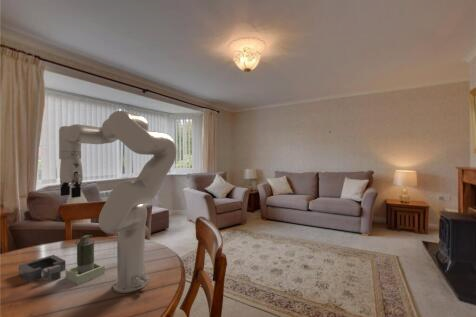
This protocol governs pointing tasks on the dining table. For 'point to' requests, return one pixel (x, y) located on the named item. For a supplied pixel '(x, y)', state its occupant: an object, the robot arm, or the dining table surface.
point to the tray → (84, 274)
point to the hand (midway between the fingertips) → (70, 196)
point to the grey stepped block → (52, 273)
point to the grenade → (85, 254)
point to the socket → (39, 267)
